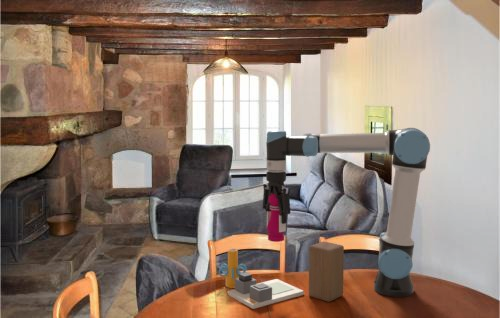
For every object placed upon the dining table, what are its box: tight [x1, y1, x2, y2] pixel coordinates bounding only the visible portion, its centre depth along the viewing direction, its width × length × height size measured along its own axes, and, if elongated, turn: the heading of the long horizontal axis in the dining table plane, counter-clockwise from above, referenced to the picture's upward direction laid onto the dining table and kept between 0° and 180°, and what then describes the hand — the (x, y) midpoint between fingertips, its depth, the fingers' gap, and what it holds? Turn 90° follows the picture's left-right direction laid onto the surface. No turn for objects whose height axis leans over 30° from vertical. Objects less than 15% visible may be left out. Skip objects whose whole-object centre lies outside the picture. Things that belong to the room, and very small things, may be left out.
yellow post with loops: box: [218, 248, 248, 289], centre depth 207 cm, size 12×10×15 cm
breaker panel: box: [227, 277, 305, 310], centre depth 198 cm, size 17×24×6 cm
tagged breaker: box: [254, 284, 268, 290], centre depth 190 cm, size 4×4×4 cm
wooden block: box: [308, 241, 345, 303], centre depth 196 cm, size 10×10×20 cm
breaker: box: [239, 271, 253, 282], centre depth 198 cm, size 4×4×4 cm
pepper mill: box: [266, 193, 286, 243], centre depth 198 cm, size 7×7×20 cm
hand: (276, 229), depth 198 cm, fingers closed on pepper mill, 7 cm apart
